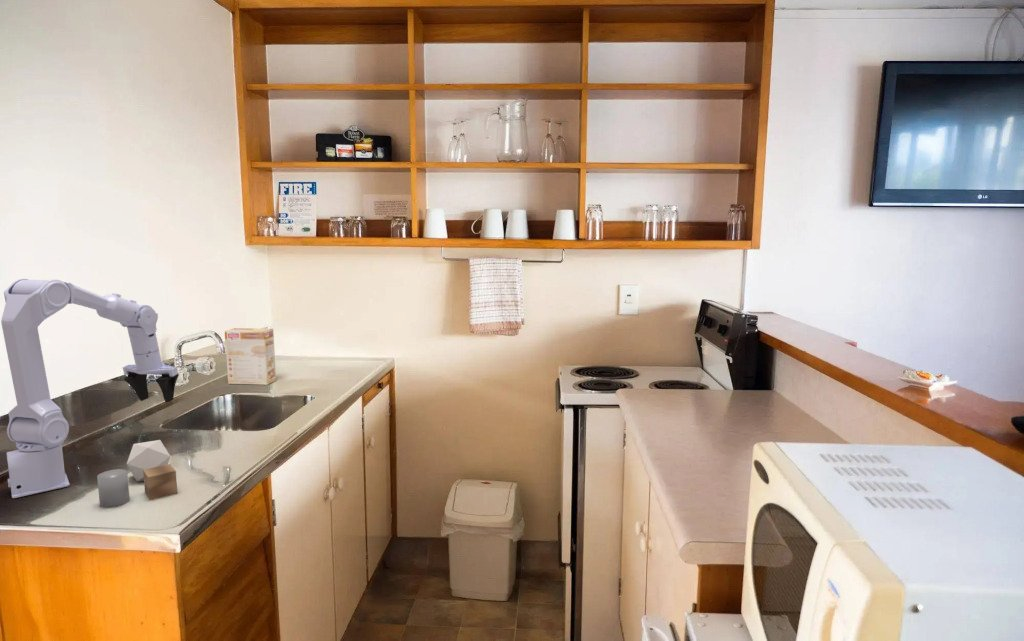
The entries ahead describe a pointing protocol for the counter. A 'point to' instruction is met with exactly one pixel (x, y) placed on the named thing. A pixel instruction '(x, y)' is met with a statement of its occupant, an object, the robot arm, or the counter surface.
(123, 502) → the grey cylinder
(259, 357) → the coffeecake box
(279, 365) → the counter surface
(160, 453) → the pale grey faceted polyhedron
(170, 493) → the walnut block
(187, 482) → the counter surface
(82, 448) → the counter surface
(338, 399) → the counter surface
